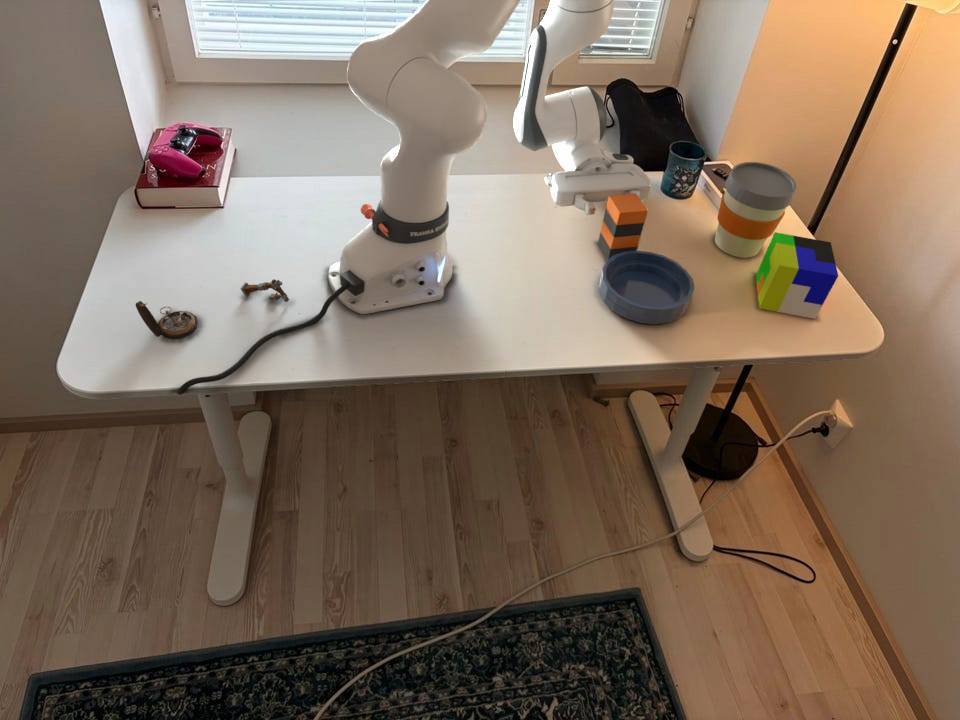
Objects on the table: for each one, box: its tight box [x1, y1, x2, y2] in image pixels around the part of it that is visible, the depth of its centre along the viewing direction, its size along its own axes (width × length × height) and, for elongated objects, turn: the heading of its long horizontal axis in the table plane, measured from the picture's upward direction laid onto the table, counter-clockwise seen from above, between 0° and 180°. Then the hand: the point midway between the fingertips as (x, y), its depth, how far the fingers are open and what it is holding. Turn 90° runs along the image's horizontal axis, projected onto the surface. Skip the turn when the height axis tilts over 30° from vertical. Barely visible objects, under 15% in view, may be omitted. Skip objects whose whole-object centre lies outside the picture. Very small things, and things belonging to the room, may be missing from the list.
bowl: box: [598, 249, 695, 325], centre depth 130 cm, size 16×16×4 cm
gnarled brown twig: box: [239, 279, 290, 303], centre depth 123 cm, size 2×8×4 cm, turn 75°
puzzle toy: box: [755, 231, 839, 320], centre depth 131 cm, size 10×10×10 cm
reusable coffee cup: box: [714, 161, 797, 259], centre depth 140 cm, size 13×13×15 cm
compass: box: [135, 300, 199, 340], centre depth 115 cm, size 8×8×7 cm
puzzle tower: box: [597, 194, 649, 261], centre depth 137 cm, size 6×6×11 cm
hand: (614, 210), depth 139 cm, fingers open, 8 cm apart
